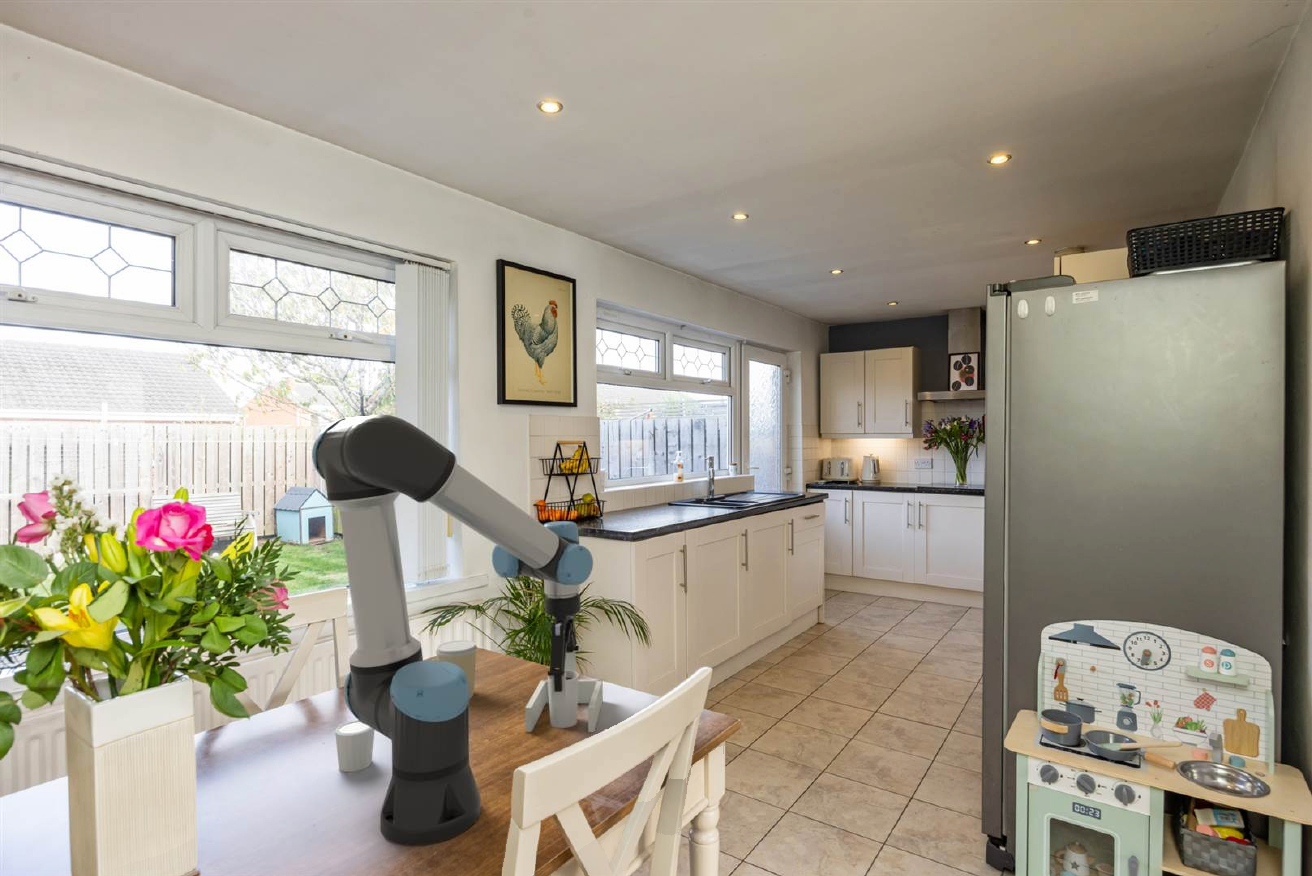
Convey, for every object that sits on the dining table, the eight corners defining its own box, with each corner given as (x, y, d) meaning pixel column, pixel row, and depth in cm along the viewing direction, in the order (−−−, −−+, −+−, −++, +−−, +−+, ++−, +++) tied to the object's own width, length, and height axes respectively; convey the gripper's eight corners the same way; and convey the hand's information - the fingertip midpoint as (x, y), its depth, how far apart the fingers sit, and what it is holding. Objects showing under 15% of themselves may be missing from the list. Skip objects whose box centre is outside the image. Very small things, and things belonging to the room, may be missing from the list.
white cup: (582, 716, 146) (581, 670, 146) (575, 729, 139) (575, 681, 140) (552, 715, 147) (552, 669, 147) (544, 728, 140) (543, 680, 140)
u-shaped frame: (525, 732, 138) (525, 707, 138) (541, 701, 155) (541, 679, 155) (594, 732, 138) (593, 707, 138) (602, 701, 155) (602, 679, 155)
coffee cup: (433, 693, 161) (433, 643, 161) (473, 686, 165) (473, 638, 165) (438, 706, 153) (438, 653, 153) (480, 699, 157) (480, 648, 157)
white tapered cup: (331, 776, 121) (331, 737, 121) (338, 758, 127) (338, 722, 128) (372, 770, 123) (372, 732, 123) (377, 754, 129) (377, 717, 129)
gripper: (570, 608, 131) (573, 717, 131) (587, 581, 156) (589, 672, 156) (532, 609, 131) (535, 717, 131) (555, 581, 156) (557, 672, 156)
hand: (564, 693), depth 143 cm, fingers open, 13 cm apart
